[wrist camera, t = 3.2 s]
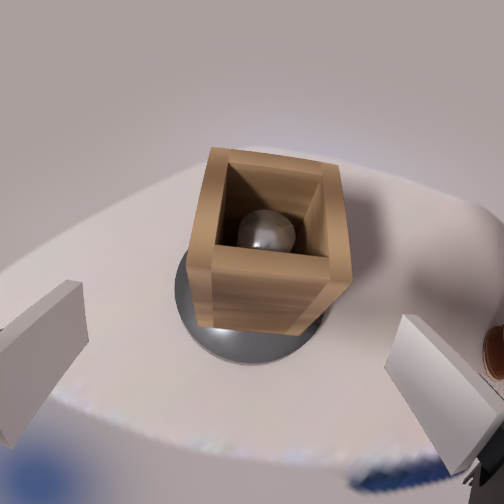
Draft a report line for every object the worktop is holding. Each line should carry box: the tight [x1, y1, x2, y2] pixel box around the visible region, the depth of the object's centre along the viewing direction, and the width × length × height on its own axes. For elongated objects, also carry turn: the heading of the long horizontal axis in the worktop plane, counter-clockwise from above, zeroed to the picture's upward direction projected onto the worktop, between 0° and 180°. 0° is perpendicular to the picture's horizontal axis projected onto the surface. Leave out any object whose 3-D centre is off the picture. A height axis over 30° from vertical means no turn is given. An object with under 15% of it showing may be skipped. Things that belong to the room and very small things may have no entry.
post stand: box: [175, 210, 325, 366], centre depth 21 cm, size 12×12×9 cm
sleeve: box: [186, 147, 353, 336], centre depth 19 cm, size 7×7×10 cm
